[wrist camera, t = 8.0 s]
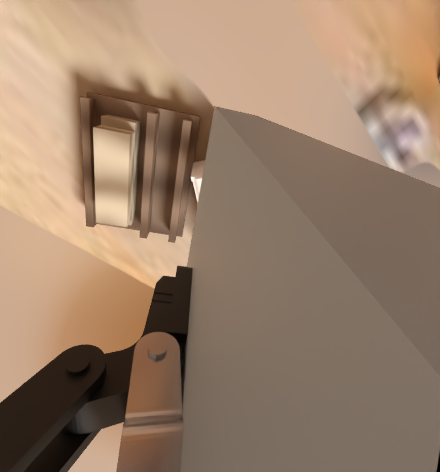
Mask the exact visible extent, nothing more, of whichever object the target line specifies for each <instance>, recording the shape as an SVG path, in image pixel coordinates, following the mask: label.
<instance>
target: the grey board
mask: <svg viewBox="0 0 440 472" xmlns="http://www.w3.org/2000/svg"><path fill="white" fill-rule="evenodd" d="M187 267H191V268H193V271H192V285H191V298H190V311H189V325H188V335H187V340H186V345H185V350H184V355H183V360H182V365H181V394H182V416H183V422H184V423H183V442H182V457H181V472H440V188H438V187H436V186H433V185H431V184H428V183H426V182H423V181H421V180H418V179H415V178H413V177H411V176H408V175H405V174H403V173H400V172H398V171H395V170H393V169H390V168H388V167H385V166H383V165H380V164H378V163H375V162H372V161H370V160H367V159H365V158H362V157H360V156H357V155H355V154H352V153H349V152H347V151H345V150H342V149H339V148H336V147H334V146H332V145H329V144H327V143H324V142H322V141H319V140H316V139H314V138H311V137H309V136H306V135H304V134H301V133H299V132H296V131H294V130H291V129H289V128H286V127H284V126H281V125H278V124H276V123H273V122H271V121H268V120H266V119H263V118H261V117H258V116H255V115H251V114H246V113H242V112H237V111H233V110H228V109H224V108H220V107H215V106H214V112H213V118H212V124H211V129H210V135H209V141H208V147H207V153H206V159H205V164H204V170H203V176H202V182H201V188H200V193H199V199H198V205H197V211H196V217H195V223H194V228H193V234H192V240H191V246H190V252H189V257H188V263H187Z"/></svg>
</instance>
